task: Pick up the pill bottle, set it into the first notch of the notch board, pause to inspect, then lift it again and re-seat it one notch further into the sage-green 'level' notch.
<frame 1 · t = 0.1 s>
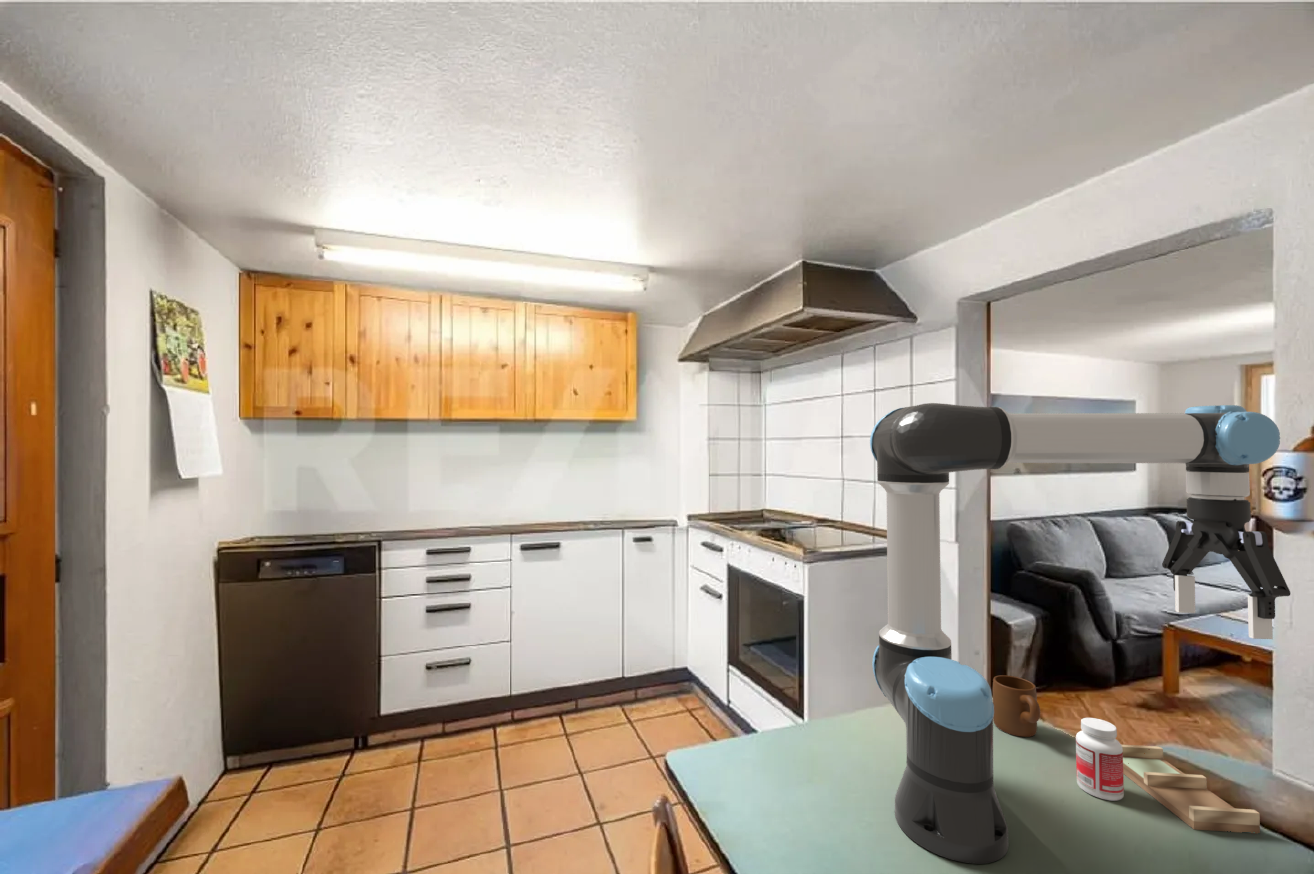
hand: (1220, 624, 92), 28 cm above the table, fingers open, 13 cm apart
notch board: (1175, 793, 91), on the table
mug: (1020, 735, 110), on the table
pill bottle: (1099, 791, 92), on the table
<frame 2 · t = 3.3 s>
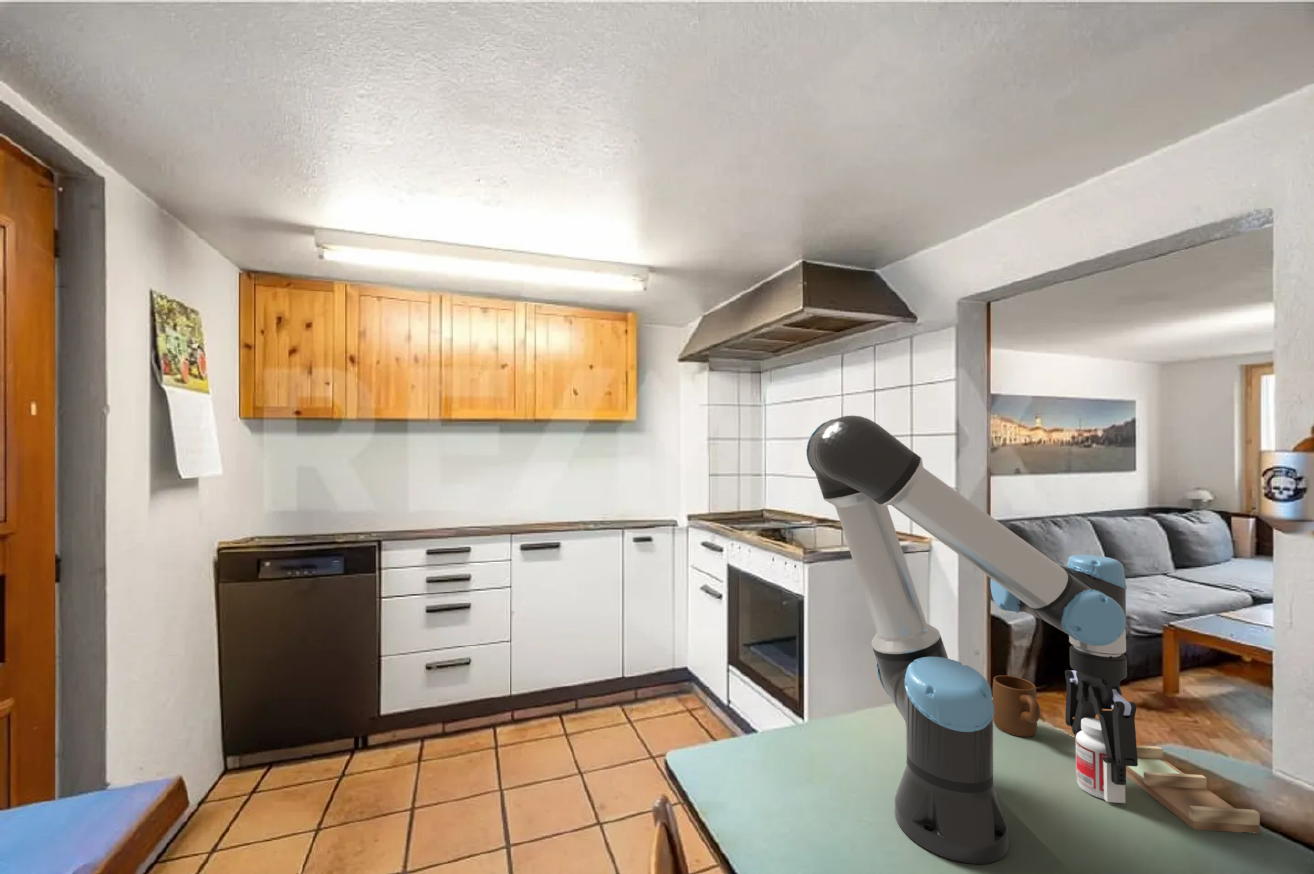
hand: (1099, 787, 92), 0 cm above the table, fingers closed on pill bottle, 6 cm apart
pill bottle: (1099, 791, 92), on the table, touching gripper
everything else where it was.
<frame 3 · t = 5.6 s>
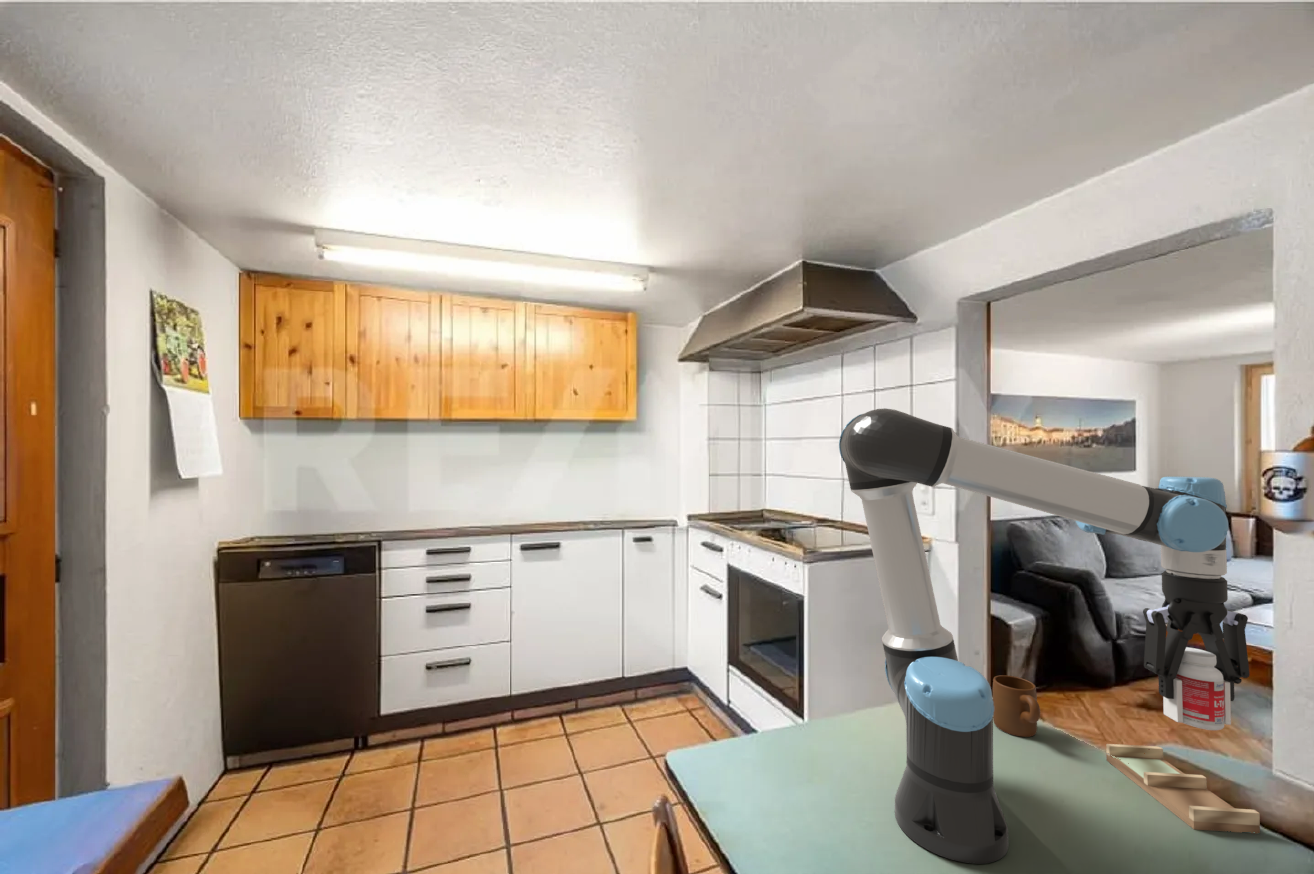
hand: (1196, 718, 87), 14 cm above the table, fingers closed on pill bottle, 6 cm apart
pill bottle: (1196, 723, 87), point 14 cm above the table, touching gripper
everything else where it was.
when the fingers open (3 cm above the table, at t = 7.8 s): pill bottle drops 1 cm, resting on notch board.
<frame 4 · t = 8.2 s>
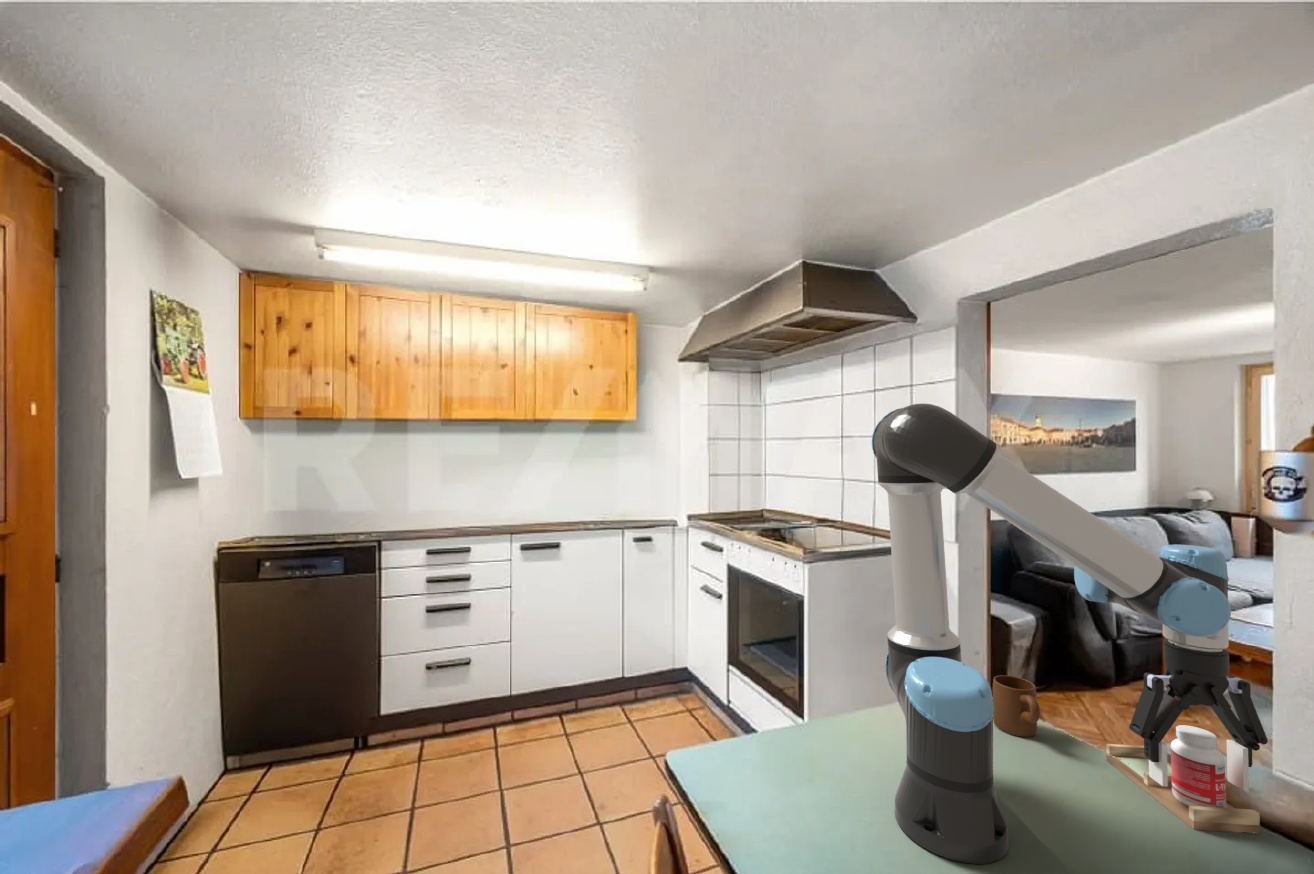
hand: (1197, 783, 87), 4 cm above the table, fingers open, 11 cm apart
pill bottle: (1198, 803, 87), point 1 cm above the table, touching notch board
everything else where it was.
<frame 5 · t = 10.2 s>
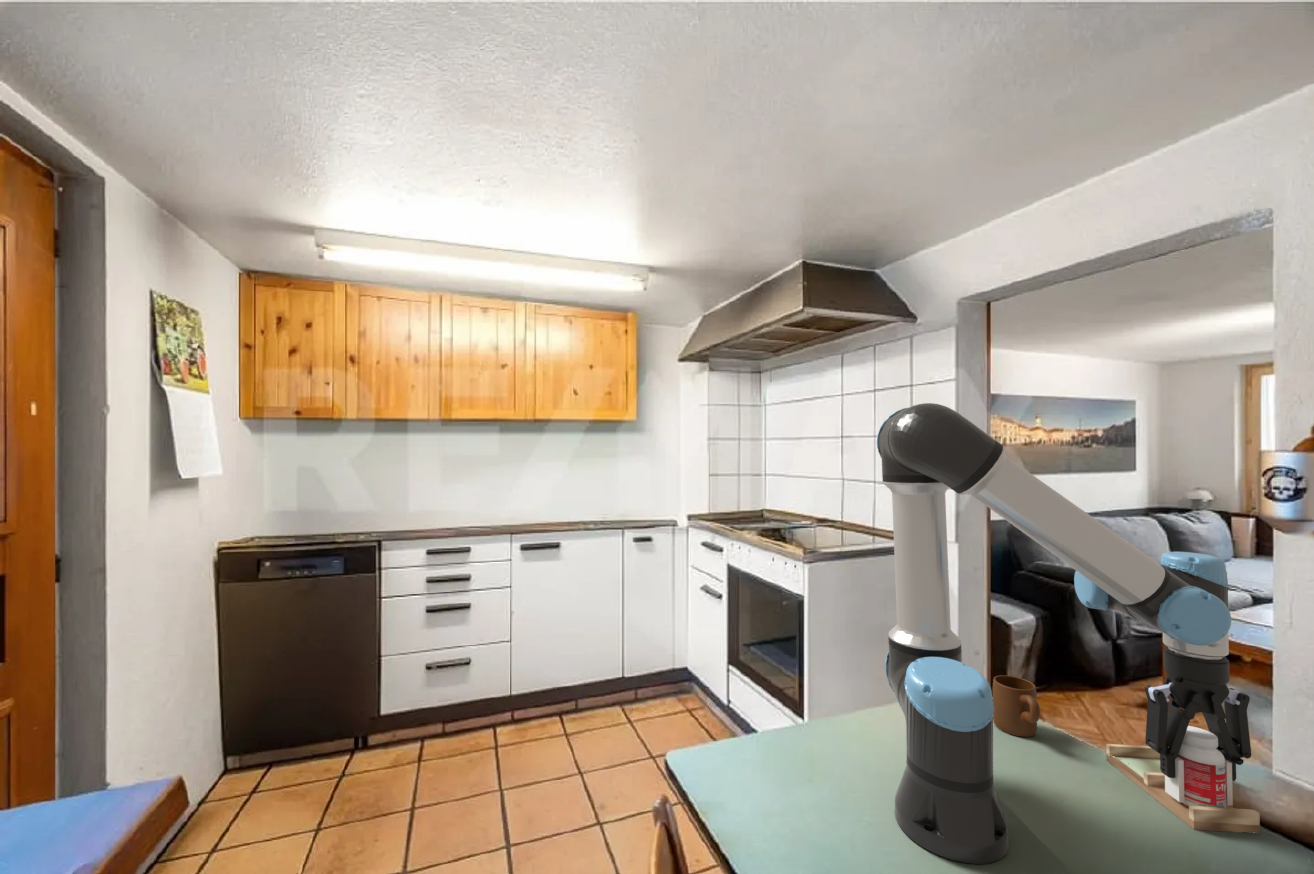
hand: (1198, 798, 87), 2 cm above the table, fingers closed on pill bottle, 6 cm apart
pill bottle: (1198, 803, 87), point 1 cm above the table, touching gripper, notch board
everything else where it was.
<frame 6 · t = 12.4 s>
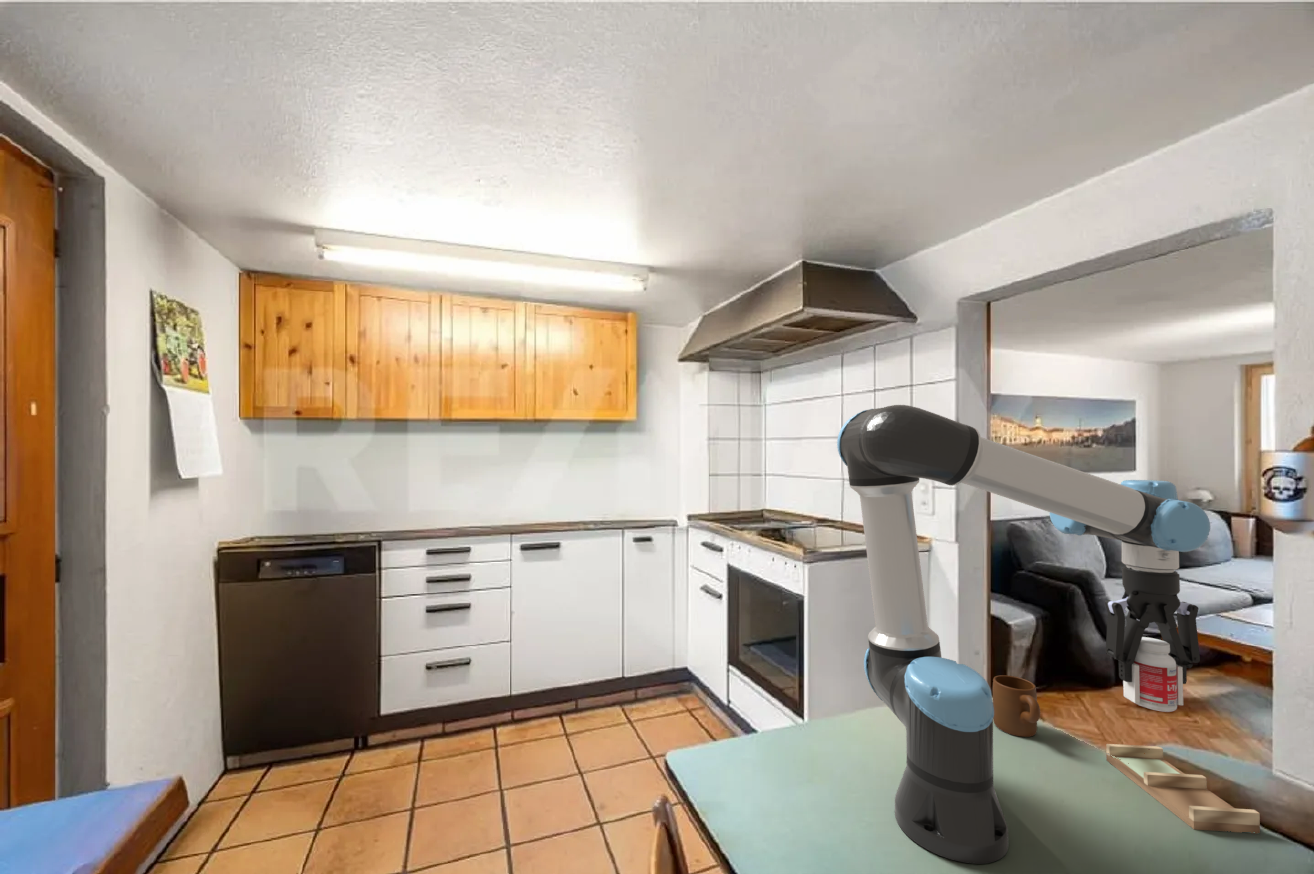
hand: (1152, 700, 96), 13 cm above the table, fingers closed on pill bottle, 6 cm apart
pill bottle: (1153, 705, 96), point 12 cm above the table, touching gripper
everything else where it was.
when the fingers open (3 cm above the table, at t = 14.4 s): pill bottle stays where it is, resting on notch board.
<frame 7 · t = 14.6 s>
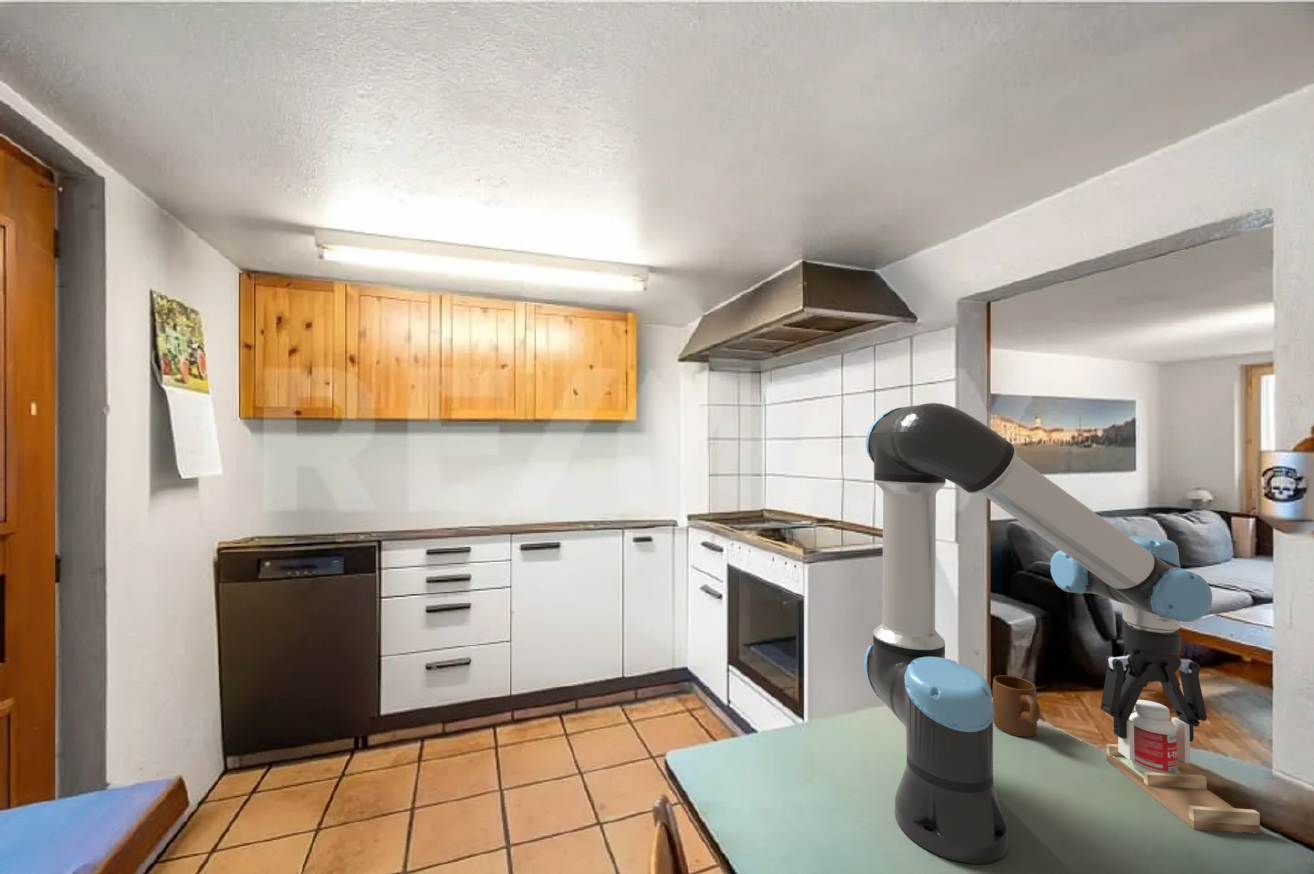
hand: (1153, 757, 96), 3 cm above the table, fingers open, 8 cm apart
pill bottle: (1153, 770, 96), point 1 cm above the table, touching notch board
everything else where it was.
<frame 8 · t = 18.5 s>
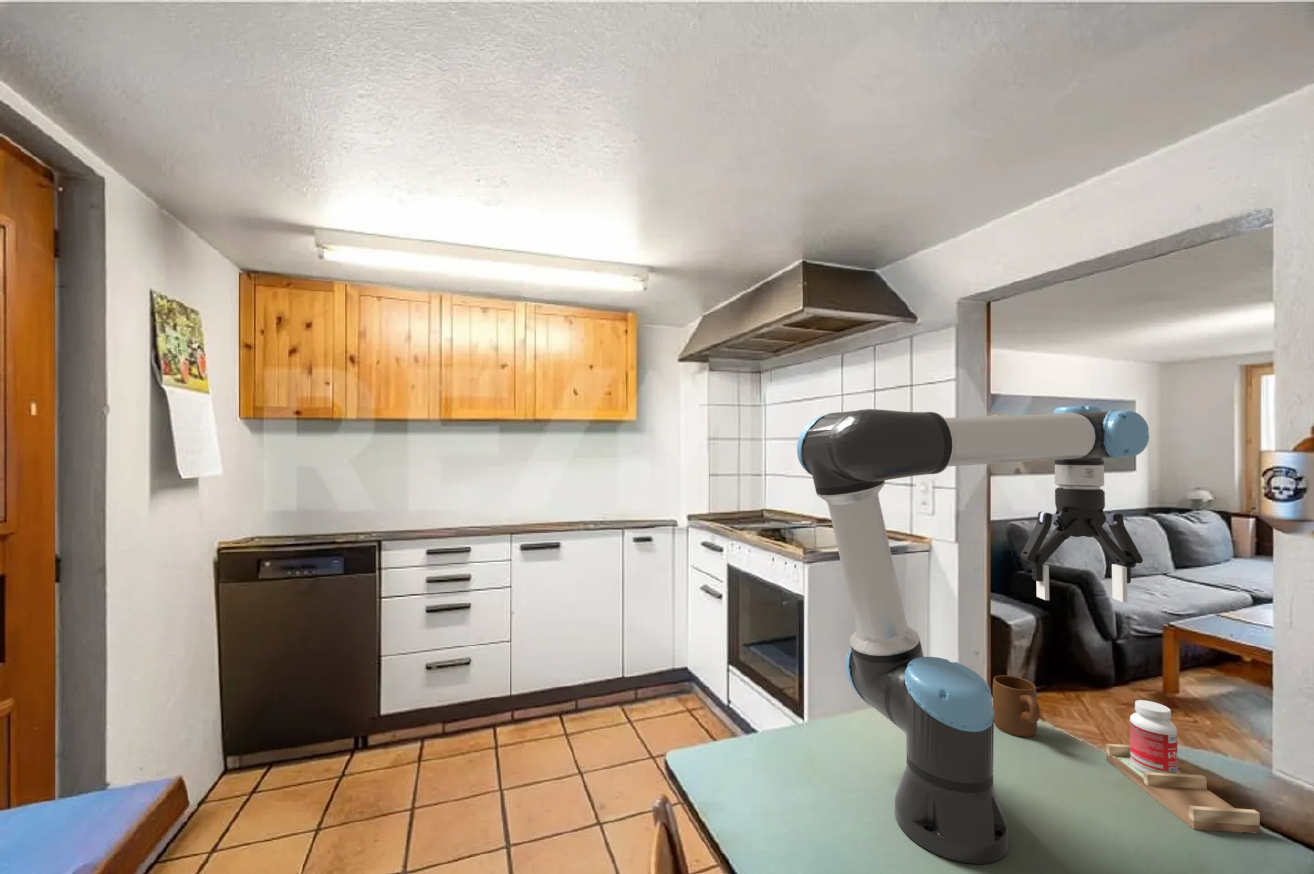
hand: (1081, 599, 104), 29 cm above the table, fingers open, 13 cm apart
nothing on the table moved.
at the end: pill bottle 0.0 cm from the target spot on the notch board, point 1.1 cm above the notch board's base; pill bottle tilted 0°; the gripper is holding nothing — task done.
